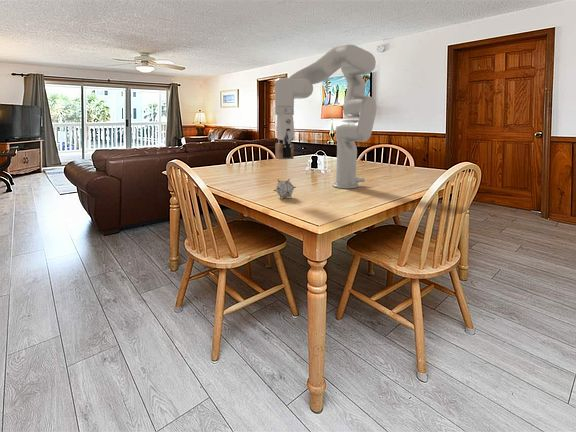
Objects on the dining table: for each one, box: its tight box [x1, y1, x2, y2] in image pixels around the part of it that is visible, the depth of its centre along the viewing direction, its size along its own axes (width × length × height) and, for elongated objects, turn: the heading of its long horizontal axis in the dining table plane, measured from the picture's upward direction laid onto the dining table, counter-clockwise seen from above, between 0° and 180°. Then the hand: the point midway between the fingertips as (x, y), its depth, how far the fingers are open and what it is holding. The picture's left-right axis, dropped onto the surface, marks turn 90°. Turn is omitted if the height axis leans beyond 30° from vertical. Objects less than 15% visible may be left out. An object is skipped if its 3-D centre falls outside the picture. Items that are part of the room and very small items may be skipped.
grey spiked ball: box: [273, 178, 297, 200], centre depth 152 cm, size 9×8×10 cm
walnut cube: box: [274, 142, 295, 160], centre depth 148 cm, size 6×6×6 cm
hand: (284, 156), depth 148 cm, fingers closed on walnut cube, 6 cm apart
